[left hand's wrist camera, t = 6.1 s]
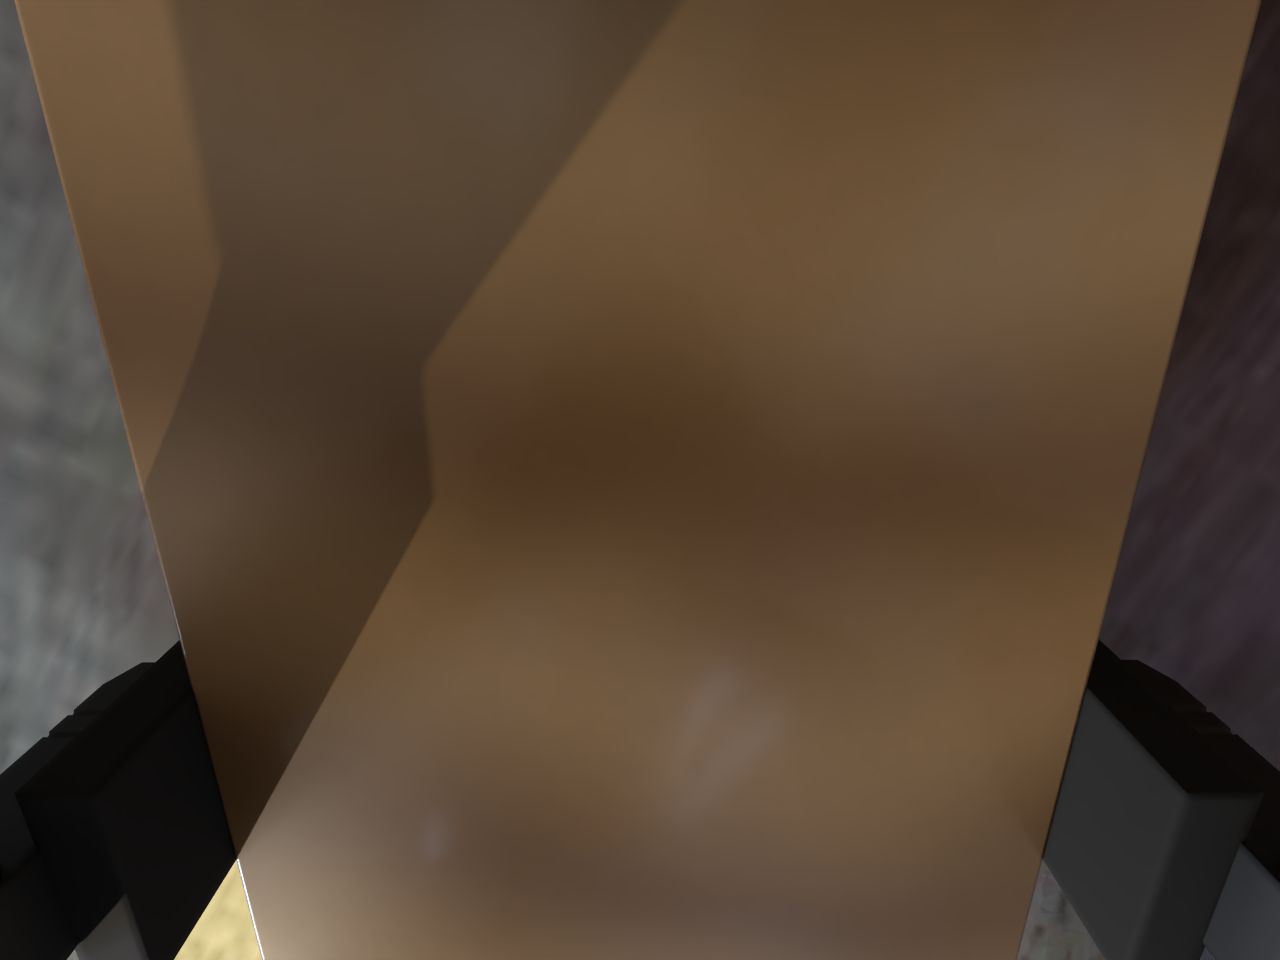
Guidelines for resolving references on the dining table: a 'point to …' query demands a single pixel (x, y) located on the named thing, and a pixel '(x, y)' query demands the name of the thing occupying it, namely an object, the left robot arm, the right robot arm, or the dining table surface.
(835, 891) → the cabinet
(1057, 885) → the decorative stone
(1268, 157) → the dining table surface
